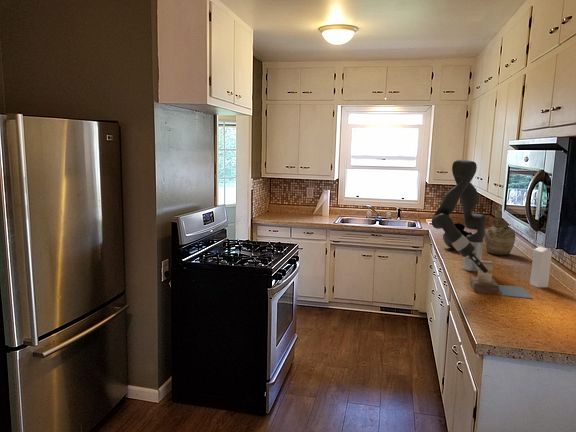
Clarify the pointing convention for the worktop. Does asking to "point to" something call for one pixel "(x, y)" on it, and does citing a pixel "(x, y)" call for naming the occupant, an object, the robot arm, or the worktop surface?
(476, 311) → the worktop surface
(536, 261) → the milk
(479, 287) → the plate
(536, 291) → the worktop surface
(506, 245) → the ceramic vessel
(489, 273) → the birch block
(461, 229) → the coal bowl
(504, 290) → the rubber mat
